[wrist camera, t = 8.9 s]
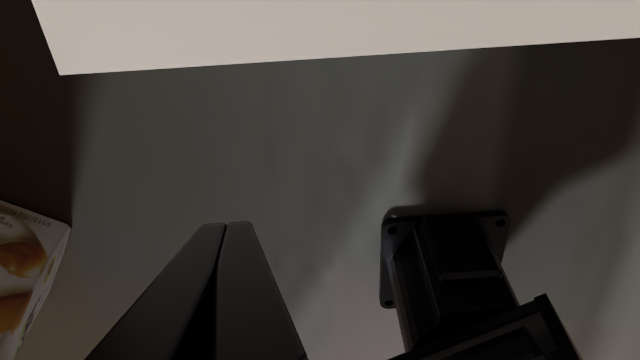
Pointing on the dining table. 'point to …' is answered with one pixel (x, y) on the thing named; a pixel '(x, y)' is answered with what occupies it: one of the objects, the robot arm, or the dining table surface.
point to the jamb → (309, 29)
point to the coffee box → (25, 270)
